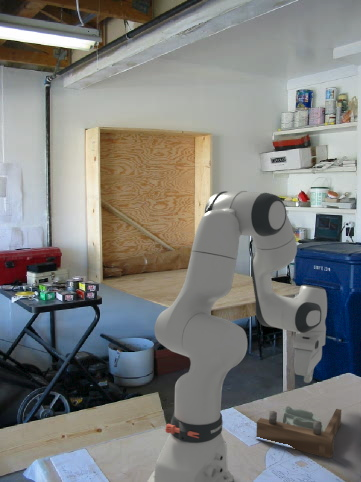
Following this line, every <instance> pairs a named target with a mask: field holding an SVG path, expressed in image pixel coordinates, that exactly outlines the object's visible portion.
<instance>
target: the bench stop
mask: <svg viewBox="0 0 361 482" xmlns="http://www.w3.org/2000/svg"><path fill="white" fill-rule="evenodd" d="M268 414H269V416H268V417H269V418H268V419H267V418H264V417H259V419H258V420H257V421H256V434H255V435H256V437H260V438H263V439H267V440H271V441H275V442H279V443H283V444H288V445H290V446H292V447H293V448H295V449H294V450H296V449H297V451H300V452H304V453H309V454H312V455H316V456H320V457H324V458H328V459H332V457H333V455H334V443H335V440H334V438H335V436H336V434H337V432H338V430H339V427H340V425H341V424H342V409H339V408H335V410H334V413H333V414H332V416H331V418H330V420H329V421H328V424H327V426H325V427H326V429H325V431H324V432H321V425H322V423H323V422H322V421H321V422H322V423H321V422H320V421H314V426H313V430H311V429H307V428H303V427H298V426H294V425H290V423H288V424H285V423H282V421H277V416H278V413H277V411H275V410H270V411H269V413H268ZM256 437H255V438H256Z"/></svg>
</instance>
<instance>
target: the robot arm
mask: <svg viewBox="0 0 361 482" xmlns="http://www.w3.org/2000/svg"><path fill="white" fill-rule="evenodd" d="M241 236H249V237H250V236H251V239H252V243H253V246H254V249H255V252H254V253H253V255H252V256H251V260H250V271H251V273H250V274H251V279H252V284H253V285H252V286H253V292H254V299H255V306H254V308H255V309H254V310H255V311H254V312H255V316H256V319H257V320H258V322H259V324H260V325H262V326H264V327H268V328H276V329H280V330H284V331H290V332H294V333H295V335H294V339H293V341H292V348H294V352H293V358H294V359H293V363H294V364H293V365H294V366H293V367H294V373H295V375H297V376H303V382H304V383H306V384H310V383H311V382H312V380H313V374H314V369H315V367H316V366H317V365H318V364H319V362H320V361H321V360H322V357H323V356H322V355H323V346H325V345H326V334H327V332H326V331H327V326H326V318H327V313H328V297H327V292H326V291H327V290H326V289H325V288H323V287H321V286H316V285H309V284H302V285H300V288H299V291H298V294H297V295H296V296H295V297H290V296H283V295H280V294H278V293H276V291H274V289H273V288H274V287H273V282H272V281H273V280H272V273H274V272H278V271H281V270H284V268H285V269H286V267H288V266H289V265H290V264H291V263H292V262H293V261H294V259H295V257H296V255H297V253H298V245H297V240H296V237H295V234H294V229H293V227H292V224H291V220H290V219H289V216H288V214H287V209H286V206H285V203H284V201H283V200H282V199H281V198H280V196H278V195H276V194H273V193H271V192H270V193H269V192H255V191H247V190H234V191H220V192H219V191H218V192H217V193H214V194H213V195H211V196H210V198H208V200H207V202H206V205H205V208H204V214H203V215H202V216H201V218H200V221H199V223H198V226H197V229H196V231H195V236H194V238H193V243H192V246H191V251H190V257H189V260H188V266H187V270H186V274H185V279H184V282H183V285H182V287H181V289H180V291H179V293H178V295H177V297H176V298H175V300H174V301H173V303H172V304H171V305H169V307H167V308H166V309H164V310H163V311H161V312H160V313H159V314H158V317H157V318H156V320H155V323H154V336H155V339H156V340H157V342H158V343H159V344H161V345H162V346H163V347H165V348H166V349H167V350H169V351H171V352H172V353H176V354H179V355H181V356H184V357H187V358H188V359H189V362H190V366H189V370H188V372H186V373H184V374H182V375H181V376H180V377H179V378H178V379H177V381H176V382H175V386H174V412H173V414H172V417H171V421H170V423H167V424H165V429H164V430H165V432H166V433H167V434H169V435H168V436H167V438H166V441H165V443H164V445H163V447H162V448H161V451H160V453H159V456H158V457H157V460H156V462H155V465H154V469H153V470H152V471H153V472H152V473H151V475H150V477H149V478H148V480H147V481H146V482H233V481H234V476H233V475H234V474H232V472H231V471H230V470H229V464H228V462H229V460H228V457H229V456H228V444H227V443H226V441H225V439H224V437H223V434H222V431H223V424H224V423H223V422H224V421H223V415H222V413H221V412H222V411H221V409H222V407H221V405H222V404H221V403H222V391H223V390H222V389H223V384H224V380H225V378H226V376H227V374H228V372H229V371H231V369H232V368H234V367H236V366H238V364H240V363H241V362H242V361H243V359H244V358H245V356H246V353H247V350H248V338H247V337H248V336H247V334H246V331H245V330H244V328H243V327H241V326H240V325H238V324H236V323H235V322H233V321H231V320H229V319H227V318H224V317H220V316H216V315H212V314H211V311H212V309H213V307H214V305H215V303H216V302H217V301H218V300H220V299H222V298H224V297H226V296H227V295H228V294H229V293H230V291H231V290H232V287H233V283H234V276H235V271H236V266H237V265H236V264H237V261H238V254H239V253H238V252H239V248H240V247H239V244H240V237H241Z"/></svg>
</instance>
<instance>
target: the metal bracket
mask: <svg viewBox="0 0 361 482" xmlns="http://www.w3.org/2000/svg"><path fill="white" fill-rule="evenodd" d="M279 409H280V411H281V413H282V414H283V417H282V420H281V423H285V424H290V425H294V426H298V427H303V428H307V429H311V430H313V426H314V421H320V422H321V423H322V425H321V432H324V431H325V429H326V427H327V426H325V425H324V423H323V422H322V421H321V419H320V418H319V417H318V416H317V415H316V414H315V413H313V412H312V411H309V410H306V409H305V410H304V409H301V408H300V409H295V408H292V407H291V406H289V405H287V406H286V407H285V408H279ZM335 440H336V438H335V437H334V441H335Z"/></svg>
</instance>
